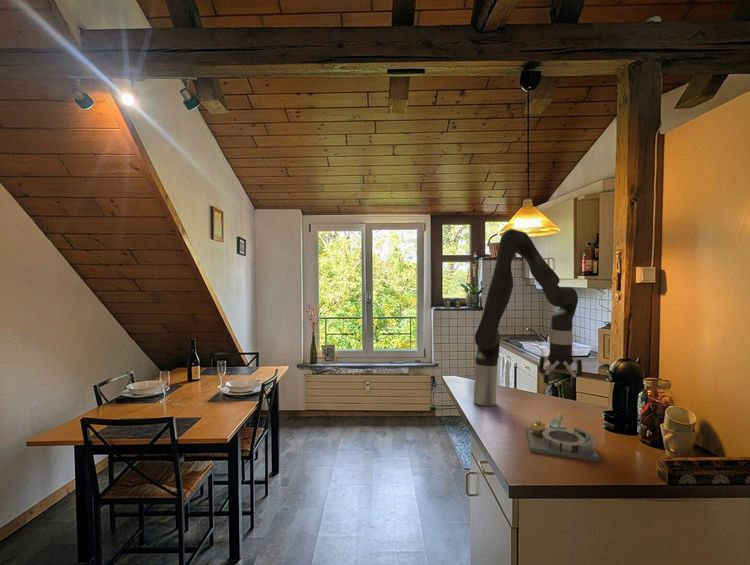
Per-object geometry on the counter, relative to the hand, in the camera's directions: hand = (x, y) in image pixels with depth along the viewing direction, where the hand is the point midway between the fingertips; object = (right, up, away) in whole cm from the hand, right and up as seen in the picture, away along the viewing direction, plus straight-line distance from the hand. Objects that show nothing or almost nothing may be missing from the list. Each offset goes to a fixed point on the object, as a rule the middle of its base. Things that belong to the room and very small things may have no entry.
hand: (559, 385), depth 151 cm
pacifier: (-1, -17, +1) cm, 17 cm away
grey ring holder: (-6, -17, -12) cm, 22 cm away
